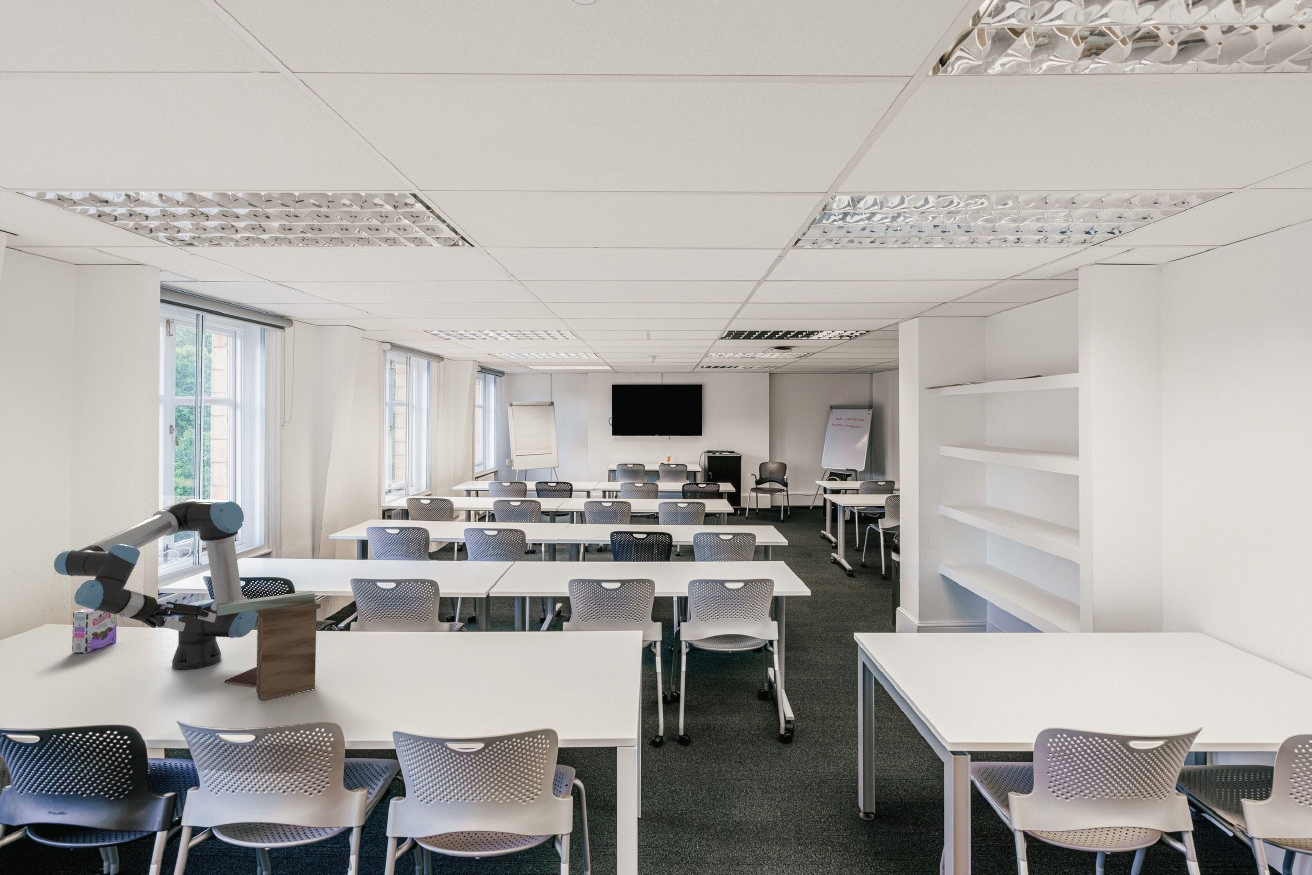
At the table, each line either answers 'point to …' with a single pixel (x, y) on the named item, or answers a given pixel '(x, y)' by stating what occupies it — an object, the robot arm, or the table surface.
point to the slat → (264, 603)
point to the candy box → (92, 630)
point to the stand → (286, 650)
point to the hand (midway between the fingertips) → (199, 622)
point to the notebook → (244, 678)
